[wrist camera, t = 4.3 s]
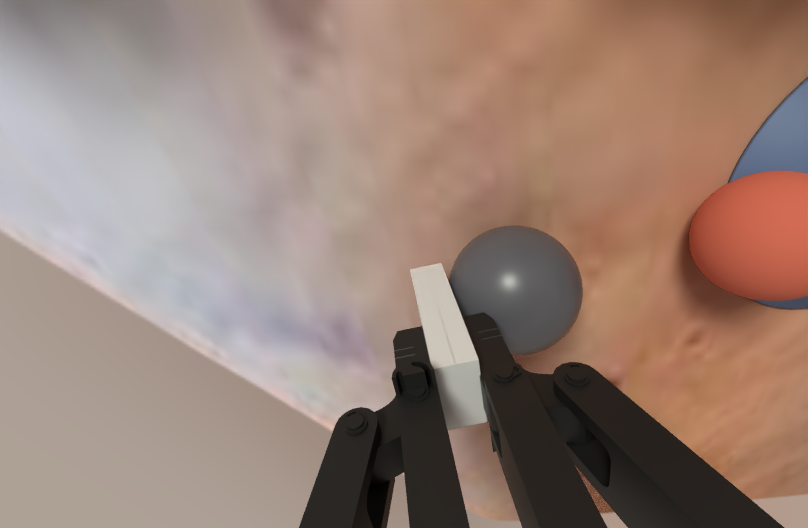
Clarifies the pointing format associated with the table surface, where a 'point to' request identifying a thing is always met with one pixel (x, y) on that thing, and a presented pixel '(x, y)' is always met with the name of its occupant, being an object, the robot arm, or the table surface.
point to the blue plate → (780, 152)
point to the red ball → (755, 236)
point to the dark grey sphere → (519, 286)
